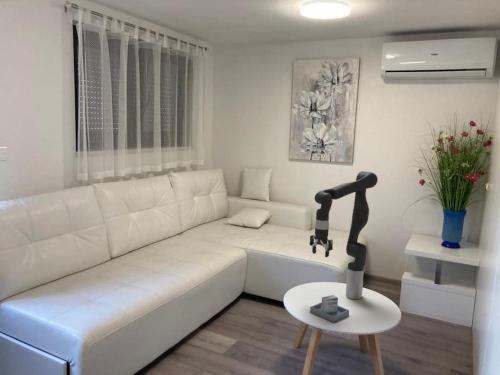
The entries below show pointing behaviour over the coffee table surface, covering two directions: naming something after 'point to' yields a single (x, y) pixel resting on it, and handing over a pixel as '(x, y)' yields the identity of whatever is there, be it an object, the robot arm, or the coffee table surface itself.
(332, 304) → the medicine box
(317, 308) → the tray
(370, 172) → the robot arm
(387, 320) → the coffee table surface
